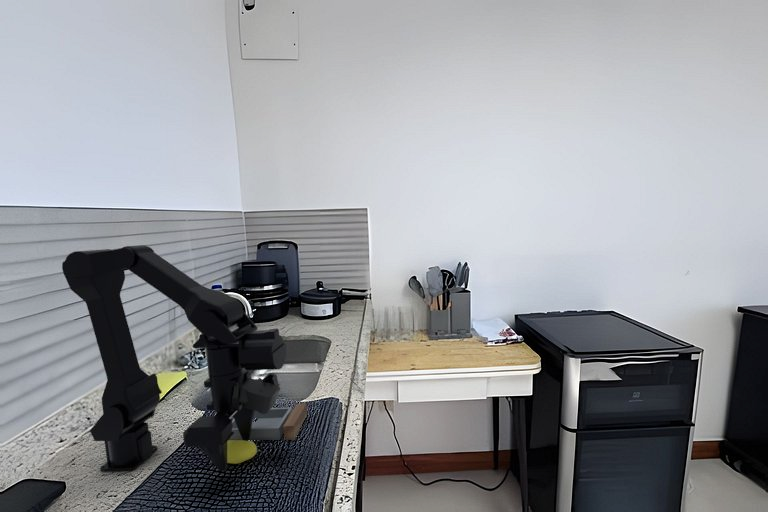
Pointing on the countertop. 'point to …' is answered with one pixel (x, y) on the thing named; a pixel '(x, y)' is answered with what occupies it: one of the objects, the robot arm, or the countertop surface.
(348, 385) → the countertop surface
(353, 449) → the countertop surface
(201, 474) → the countertop surface
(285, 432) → the rail
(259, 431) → the tray
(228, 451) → the lemon
